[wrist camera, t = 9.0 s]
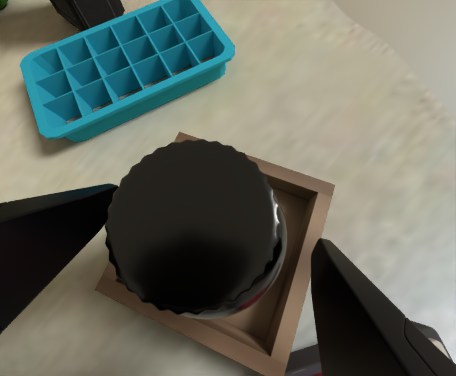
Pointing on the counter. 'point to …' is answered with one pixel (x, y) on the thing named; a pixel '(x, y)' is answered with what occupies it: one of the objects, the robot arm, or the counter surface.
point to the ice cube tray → (124, 67)
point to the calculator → (310, 359)
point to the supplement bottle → (196, 230)
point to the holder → (273, 299)
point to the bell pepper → (2, 3)
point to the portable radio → (88, 11)
